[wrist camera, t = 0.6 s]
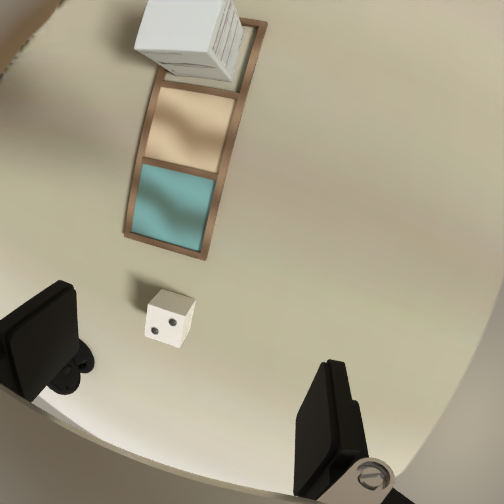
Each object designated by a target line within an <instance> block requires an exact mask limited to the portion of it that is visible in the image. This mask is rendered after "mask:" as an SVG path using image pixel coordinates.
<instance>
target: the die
mask: <svg viewBox="0 0 504 504" xmlns="http://www.w3.org/2000/svg"><path fill="white" fill-rule="evenodd" d="M195 301H196V299H193V298H190V297H187V296H183V295H180V294H177V293H174V292H171V291H168V290H164V289H161V290H160V291H159V292H158V293H157V295H156V296H155V297H154V298H153V299H152V300H151V301H150V302H149V303H148V308H147V317H146V326H145V336H146V337H149V338H152V339H155V340H158V341H160V342H163V343H166V344H169V345H172V346H175V347H178V348H180V346H181V345H182V343H183V341H184V339H185V337H186V336H187V334H188V332H189V330H190V326H191V321H192V316H193V311H194V306H195Z"/></svg>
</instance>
